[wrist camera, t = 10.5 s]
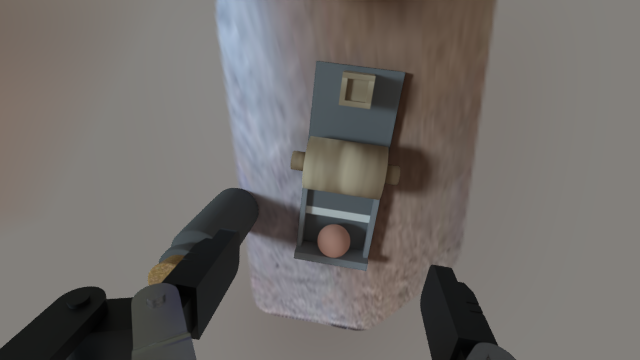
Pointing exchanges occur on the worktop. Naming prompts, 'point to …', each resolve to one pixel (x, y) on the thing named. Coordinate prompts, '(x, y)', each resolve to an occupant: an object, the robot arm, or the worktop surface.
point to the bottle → (209, 228)
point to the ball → (333, 240)
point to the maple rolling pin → (345, 167)
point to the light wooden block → (356, 89)
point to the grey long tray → (354, 128)
